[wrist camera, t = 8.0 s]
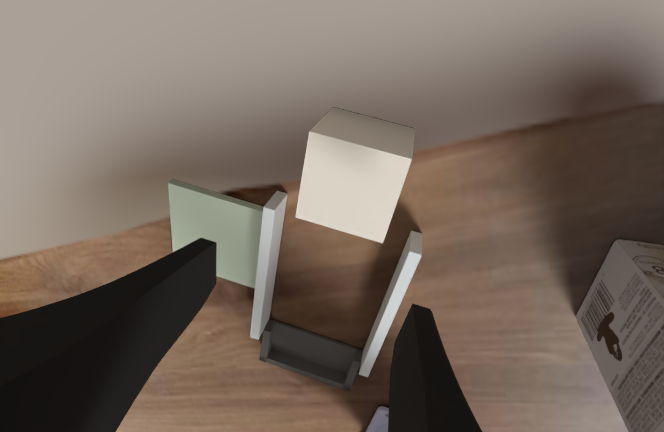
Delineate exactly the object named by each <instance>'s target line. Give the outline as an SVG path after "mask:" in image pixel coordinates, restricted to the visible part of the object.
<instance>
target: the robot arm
mask: <svg viewBox="0 0 664 432" xmlns="http://www.w3.org/2000/svg"><path fill="white" fill-rule="evenodd" d="M216 251H217V242H213V241H210V240H207V239H204V238H199V239H197V240H195V241H193V242H191V243H190V244H188V245H186V246H184V247H182V248H180V249H178V250H176V251H174V252H173V253H171V254H169V255H167V256H165V257H163V258H161V259H159V260H157V261H155V262H153V263H151V264H149V265H147V266H145V267H143V268H141V269H139V270H137V271H135V272H132V273H130V274H128V275H126V276H124V277H121V278H119V279H117V280H115V281H113V282H110V283H108V284H105V285H103V286H100V287H98V288H95V289H93V290H90V291H87V292H85V293H82V294H79V295H77V296H74V297H71V298H68V299H65V300H62V301H58V302H55V303H52V304H49V305H46V306H43V307H40V308H36V309H33V310H29V311H26V312H22V313H18V314H15V315H11V316H7V317H3V318H0V432H116V430H117V428H118V427H119V425H120V423H121V422H122V420H123V418H124V417H125V415H126V413H127V412H128V410H129V409H130V407H131V405H132V404H133V402H134V400H135V399H136V397H137V396H138V394H139V392H140V391H141V389H142V388H143V386H144V385H145V383H146V381H147V380H148V378H149V377H150V375H151V374H152V372H153V371H154V369H155V368H156V366H157V365H158V364H159V362H160V361H161V359H162V358H163V357H164V356H165V354H166V353H167V352H168V350H169V349H170V348H171V347H172V345H173V344H174V343H175V341H176V340H177V339H178V338H179V336H180V335H181V334H182V333H183V331H184V330H185V329H186V327H187V326H188V325H189V324H190V322H191V321H192V320H193V318H194V317H195V316H196V315H197V313H198V312H199V311H200V309H201V308H202V306H203V305H204V303H205V302H206V300H207V298H208V297H209V295H210V293H211V291H212V290H213V288H214V286H215V285H216ZM366 432H482V430H481V429H480V427H479V425H478V423H477V421H476V419H475V417H474V415H473V413H472V411H471V409H470V407H469V405H468V403H467V401H466V399H465V397H464V395H463V393H462V390H461V388H460V386H459V384H458V382H457V379H456V377H455V375H454V372H453V370H452V367H451V365H450V362H449V360H448V357H447V355H446V352H445V349H444V347H443V344H442V341H441V338H440V335H439V332H438V330H437V326H436V323H435V320H434V317H433V314H432V311H431V310H430V309H428V308H425V307H422V306H419V305H415V304H412V306H411V308H410V310H409V312H408V315H407V317H406V319H405V321H404V323H403V325H402V328H401V330H400V332H399V334H398V336H397V338H396V340H395V345H394V351H393V357H392V364H391V372H390V393H389V408H387V407H383V406H380V407H378V408H377V410H376V412H375V414H374V416H373V418H372V420H371V422H370V424H369V426H368V428H367V430H366Z"/></svg>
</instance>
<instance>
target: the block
mask: <svg viewBox="0 0 664 432" xmlns="http://www.w3.org/2000/svg"><path fill="white" fill-rule="evenodd" d="M414 135H415V128H412V127H408V126H404V125H401V124H397V123H393V122H389V121H386V120H382V119H378V118H374V117H370V116H366V115H363V114H359V113H355V112H351V111H347V110H344V109H340V108H336V107H333V108H331V109H330V111H329V112H328V113H327V114H326V115H325V116H324V117H323V118H322V119H321V120H320V121H319V122H318V123H317V124H316V125H315V126H314V127H313V128H312V129H311V130H310V131H309V136H308V142H307V148H306V154H305V161H304V167H303V173H302V179H301V186H300V192H299V198H298V205H297V211H296V218H299V219H303V220H306V221H309V222H313V223H316V224H320V225H323V226H326V227H330V228H333V229H336V230H340V231H343V232H346V233H350V234H353V235H356V236H360V237H363V238H366V239H370V240H373V241H376V242H380V243H383V242H384V239H385V236H386V233H387V230H388V227H389V224H390V222H391V219H392V216H393V213H394V210H395V207H396V204H397V201H398V198H399V195H400V192H401V190H402V187H403V184H404V181H405V178H406V175H407V172H408V169H409V166H410V163H411V160H412V154H413V144H414Z"/></svg>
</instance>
